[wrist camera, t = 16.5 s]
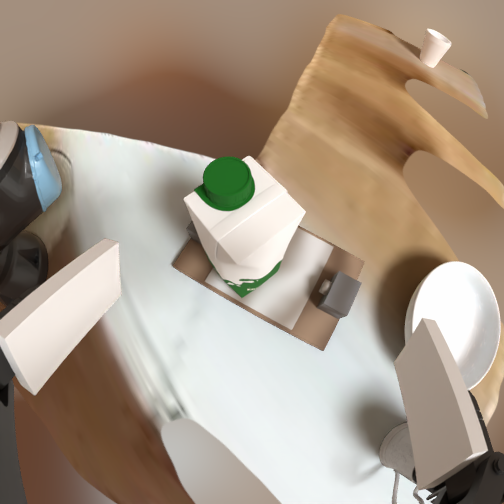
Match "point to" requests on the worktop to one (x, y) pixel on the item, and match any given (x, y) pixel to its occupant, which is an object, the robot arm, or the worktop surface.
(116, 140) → the worktop surface
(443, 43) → the foam cup
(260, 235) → the soya milk
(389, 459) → the white pitcher
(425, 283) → the serving bowl
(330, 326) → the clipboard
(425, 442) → the robot arm
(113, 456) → the worktop surface
